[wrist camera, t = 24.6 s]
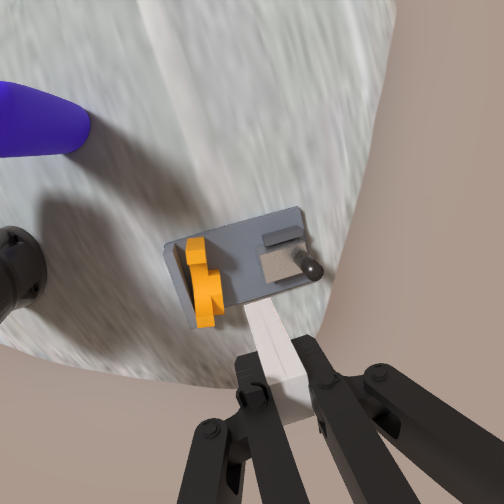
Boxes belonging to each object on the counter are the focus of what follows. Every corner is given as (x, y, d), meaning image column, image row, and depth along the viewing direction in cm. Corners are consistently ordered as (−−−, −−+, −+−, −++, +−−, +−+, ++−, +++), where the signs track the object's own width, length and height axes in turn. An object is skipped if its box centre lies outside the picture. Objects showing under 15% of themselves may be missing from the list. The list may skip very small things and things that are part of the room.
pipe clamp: (223, 304, 51) (226, 324, 44) (197, 307, 50) (197, 328, 44) (215, 235, 47) (217, 247, 41) (187, 238, 46) (185, 251, 40)
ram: (261, 273, 50) (275, 301, 40) (254, 247, 48) (268, 270, 39) (303, 261, 50) (325, 285, 41) (298, 235, 49) (321, 254, 39)
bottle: (70, 164, 41) (-64, 189, 12) (40, 134, 38) (-94, 134, 10) (102, 123, 40) (-18, 93, 12) (71, 94, 37) (-52, 49, 9)
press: (190, 312, 52) (189, 329, 46) (165, 243, 47) (161, 254, 42) (310, 277, 53) (322, 289, 48) (296, 206, 49) (308, 212, 44)
